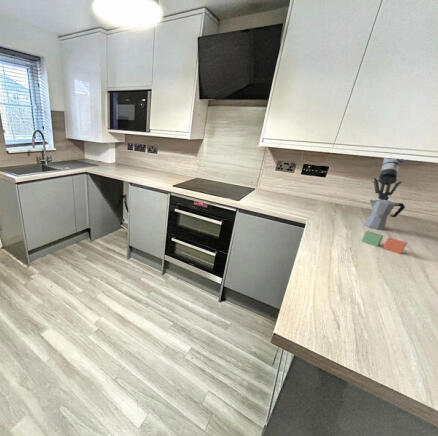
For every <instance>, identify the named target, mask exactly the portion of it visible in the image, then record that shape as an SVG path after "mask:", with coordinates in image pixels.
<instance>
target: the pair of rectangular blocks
mask: <svg viewBox="0 0 438 436" xmlns="http://www.w3.org/2000/svg"><path fill="white" fill-rule="evenodd" d="M383 238H384V235H383V234H379V233H376V232H372V231H369V230H367V231H365V232H364V234H363V236H362V239H361V242H363V243H366V244H369V245H372V246H374V247H375V246H376V247H378V246H380V244H381V242H382V240H383ZM407 244H408V242H406V241H403V240H399V239H396V238H393V237H388V238H387V239H386V241H385V243H384V245H383V247H382V249H384V250H387V251H389V252H393V253H396V254H399V255H401V254H402V253H403V252H404V250H405V248H406V247H407Z"/></svg>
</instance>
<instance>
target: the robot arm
mask: <svg viewBox="0 0 438 436" xmlns="http://www.w3.org/2000/svg"><path fill="white" fill-rule="evenodd" d="M407 161H409V160H403V159H388V158H384V157H383V161H382V165H381V169H380V173H379V176H378V177H377V178H376V177H374V178H373V179H372V183H373V186H374V192H375V194H378V196H377V198H378V200H385V197H389V196H392V195H393V194H394V192H395V191H396V189H397V188H398V187H399V186H401V184H402V182H403V181H398V179H397V177H398V172H399V168H400V165H401V164H403V163H405V162H407ZM379 183H380V184H379ZM393 184H394V186H393V187H392V188H391V185H393ZM385 186H386V187H385ZM390 189H391V190H390ZM384 190H385V191H384Z"/></svg>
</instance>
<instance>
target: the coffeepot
mask: <svg viewBox="0 0 438 436" xmlns="http://www.w3.org/2000/svg"><path fill="white" fill-rule="evenodd" d="M389 198H390V197H389V196H388V197H385V200H380V199H370V200H369V202H370V204H371V207H372V208H371V213H370V215H369V216H368V218H367V219H366V221H365V222H364V223H363V225H364V226H365V227H367V228H370V229H374V230H381V231H383V230H385V228H386V224H387V219H388V218H387V217H388V216H389V215H390V217H391V218H396V217H397V216H399V214H400V213H402V212H403V210H404V209H406V206H405V205H404V203H402V202H396V201H395V202H393V201H391V200H389ZM395 207H399V208H398V209H397V210H396V211H395V213H394V214H390V213H391V212H392V211H393V209H394V208H395Z"/></svg>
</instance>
